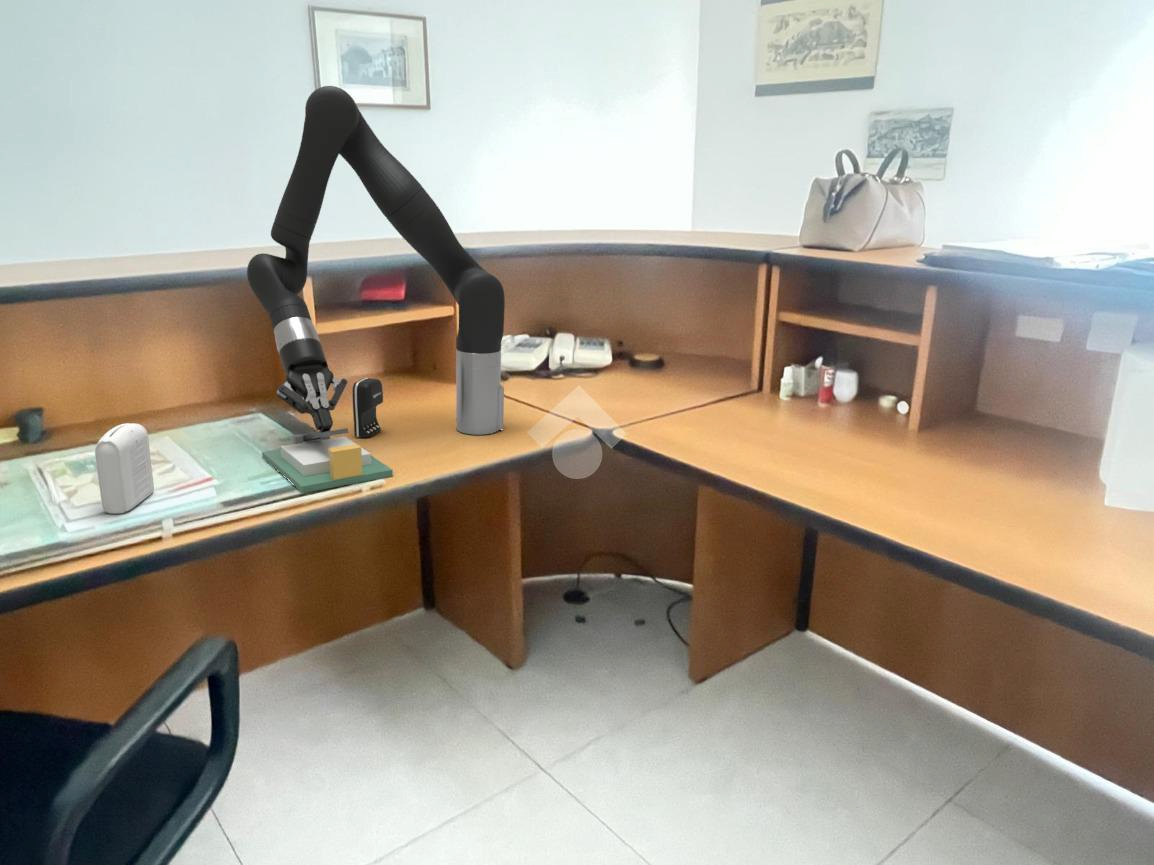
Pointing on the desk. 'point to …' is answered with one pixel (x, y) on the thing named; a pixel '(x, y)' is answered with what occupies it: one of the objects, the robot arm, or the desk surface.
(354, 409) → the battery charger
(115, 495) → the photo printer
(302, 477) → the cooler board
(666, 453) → the desk surface
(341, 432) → the gray flat bar
